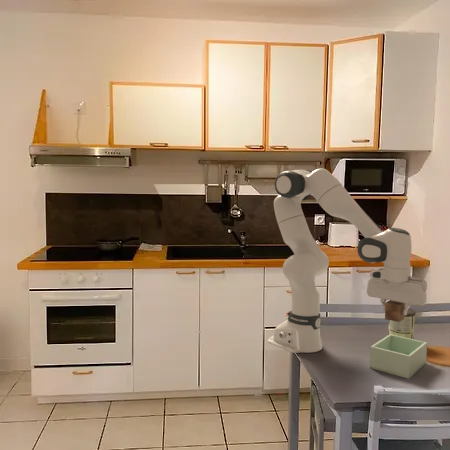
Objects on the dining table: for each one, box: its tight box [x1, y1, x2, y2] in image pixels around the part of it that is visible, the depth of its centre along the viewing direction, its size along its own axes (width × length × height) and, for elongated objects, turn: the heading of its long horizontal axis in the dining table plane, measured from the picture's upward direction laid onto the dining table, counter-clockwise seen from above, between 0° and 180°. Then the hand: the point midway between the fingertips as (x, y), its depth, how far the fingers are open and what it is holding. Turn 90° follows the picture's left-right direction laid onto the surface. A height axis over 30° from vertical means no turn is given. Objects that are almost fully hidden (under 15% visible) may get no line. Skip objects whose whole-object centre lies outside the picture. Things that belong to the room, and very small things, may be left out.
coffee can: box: [387, 308, 416, 340], centre depth 197 cm, size 10×10×14 cm
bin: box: [369, 334, 428, 380], centre depth 174 cm, size 14×18×8 cm
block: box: [384, 300, 406, 322], centre depth 168 cm, size 5×5×6 cm
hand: (394, 313), depth 168 cm, fingers closed on block, 5 cm apart
